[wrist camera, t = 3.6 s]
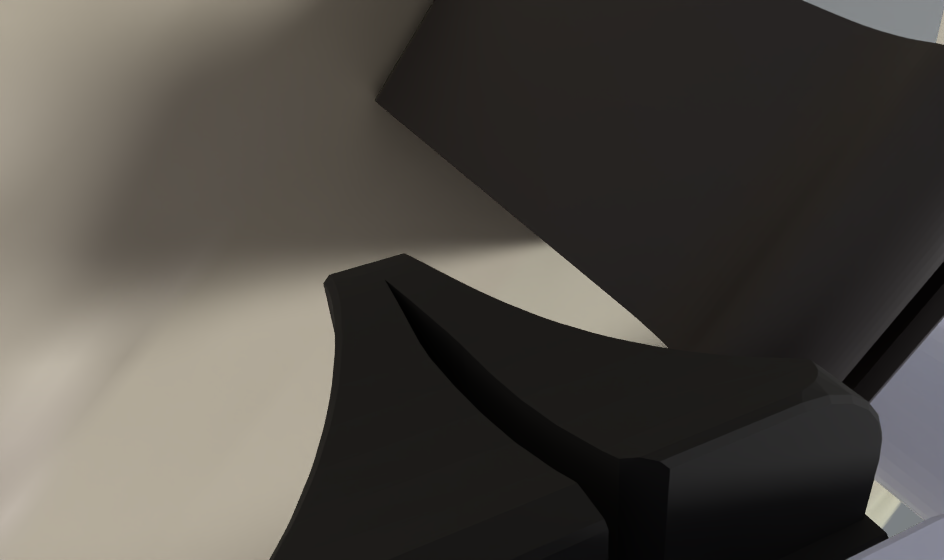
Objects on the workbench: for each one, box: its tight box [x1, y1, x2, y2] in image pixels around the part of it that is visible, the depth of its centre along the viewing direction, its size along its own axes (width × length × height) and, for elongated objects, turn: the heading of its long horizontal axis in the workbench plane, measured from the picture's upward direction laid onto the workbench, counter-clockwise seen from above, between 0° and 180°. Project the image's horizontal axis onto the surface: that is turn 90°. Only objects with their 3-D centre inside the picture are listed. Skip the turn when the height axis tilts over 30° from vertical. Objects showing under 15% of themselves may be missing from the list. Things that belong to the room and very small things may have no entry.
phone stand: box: [375, 0, 944, 403], centre depth 16 cm, size 9×6×12 cm, turn 54°
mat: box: [803, 0, 944, 43], centre depth 23 cm, size 10×15×1 cm, turn 6°
